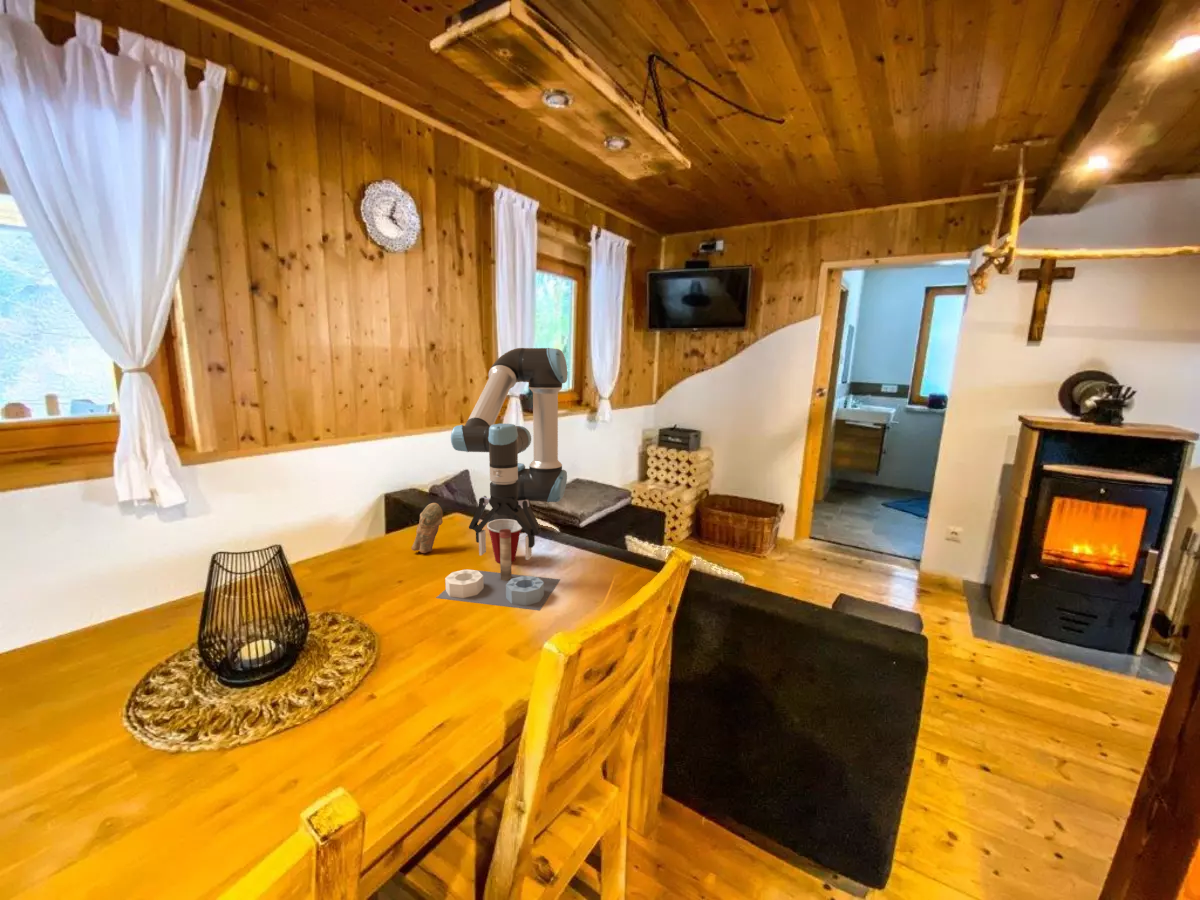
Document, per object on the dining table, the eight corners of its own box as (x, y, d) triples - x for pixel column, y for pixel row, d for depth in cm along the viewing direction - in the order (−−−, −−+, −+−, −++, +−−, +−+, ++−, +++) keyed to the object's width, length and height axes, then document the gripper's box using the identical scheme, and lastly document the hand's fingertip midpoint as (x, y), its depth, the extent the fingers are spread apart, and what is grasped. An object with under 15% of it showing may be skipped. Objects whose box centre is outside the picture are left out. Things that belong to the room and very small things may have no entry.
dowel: (503, 575, 141) (502, 528, 139) (513, 576, 141) (512, 529, 138) (498, 580, 138) (497, 532, 136) (509, 581, 138) (508, 533, 135)
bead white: (457, 580, 138) (456, 568, 137) (487, 584, 136) (487, 571, 135) (440, 595, 129) (439, 582, 128) (472, 599, 127) (472, 586, 126)
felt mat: (468, 570, 145) (468, 569, 145) (560, 580, 139) (560, 579, 139) (435, 599, 128) (435, 597, 128) (539, 611, 122) (539, 610, 122)
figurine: (410, 553, 157) (407, 508, 154) (426, 544, 164) (423, 501, 162) (433, 557, 154) (430, 510, 152) (448, 548, 162) (446, 503, 159)
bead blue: (515, 587, 134) (515, 574, 134) (547, 590, 132) (547, 578, 132) (501, 602, 125) (501, 589, 125) (536, 606, 124) (535, 593, 123)
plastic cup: (511, 571, 145) (510, 532, 143) (480, 565, 149) (479, 526, 147) (530, 557, 155) (530, 521, 153) (501, 552, 159) (500, 516, 157)
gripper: (454, 481, 133) (457, 556, 137) (543, 487, 128) (543, 565, 132) (467, 475, 140) (470, 547, 144) (552, 481, 135) (552, 554, 139)
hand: (505, 555), depth 138 cm, fingers open, 13 cm apart
